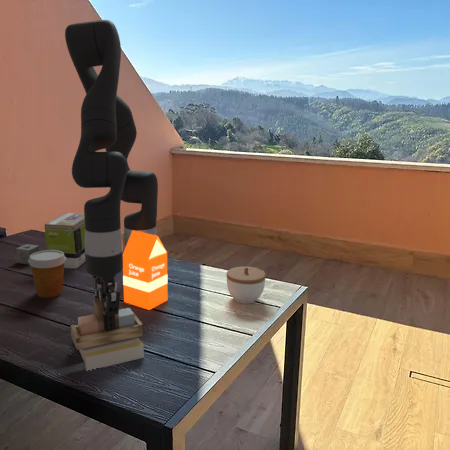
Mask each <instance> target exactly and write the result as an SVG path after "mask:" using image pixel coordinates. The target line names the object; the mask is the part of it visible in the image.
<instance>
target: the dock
mask: <svg viewBox="0 0 450 450" xmlns="http://www.w3.org/2000/svg"><path fill="white" fill-rule="evenodd" d="M144 347H145V346H144V343H143V342H142V340H141V339H140V338H139V337H134V338H130V339H125V340H120V341H116V342H111V343H107V344H102V345H98V346H93V347H89V348H84V349H79V350H78V351H79V353H80V355H81V358H82V360H83V362H82V364H83V366H84V368H86V369H85V371H86V372H89V371H88V370H90V371H93V370H92V369H94V370H97V369H96V368H99V369H101V368H102V367H103V368H107V367H111V366H115V365H118V364H123V363H128V362H131V361H135V360H140V359H143V358H145V352H144V351H145V350H144Z"/></svg>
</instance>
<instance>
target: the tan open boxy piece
mask: <svg viewBox="0 0 450 450" xmlns="http://www.w3.org/2000/svg"><path fill="white" fill-rule="evenodd" d="M105 299H106V298H103V300H105ZM92 303H93V305H92V306H93V314H94V315H95V317H96V319H97V320H98V333H95V334H90V335H85V336H80V334H79V329H78V324H76V325H75V324H72V325H70V335H71V336H70V338H71V339H72V341H73V344H74V347H75V349H76V351H79V349H84V348H89V347H93V346H98V345H102V344H107V343H111V342H116V341H120V340H125V339H130V338H134V337H138V338H139V337H143V336H144V335H143V333H144V331H143V328H144V327H143V323H142V322H141V320H140V319H139V317H138V316H137V315H136V314H135V313H134V324H135V325H133V326H129V327H124V328H119V312H118V314H115V329H114V330H109V331H106V330H105V329H104V314H103V305H102V304H101V303H100V299H99V298H95V297H94V298H92Z"/></svg>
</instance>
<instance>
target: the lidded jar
mask: <svg viewBox="0 0 450 450" xmlns="http://www.w3.org/2000/svg"><path fill="white" fill-rule="evenodd" d="M266 277H267V274H266V272H265V271H264V270H263V269H260V268H258V267H254V266H236V267H232V268H230V269H228V270H227V272H226V287H227V289H228V290H227V291H228V293H229V294H230V296H231V297H232V299H233V300H234V301H235V302H237V303H239V304H243V305H244V304H245V305H246V304H254V303H255V302H256V301H257V300H258V299H259V298H260V297H261V296H262V294H263V292H264V289H265V285H266V284H265V283H266Z"/></svg>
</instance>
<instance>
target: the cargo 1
mask: <svg viewBox="0 0 450 450" xmlns="http://www.w3.org/2000/svg"><path fill="white" fill-rule="evenodd" d="M77 325H78V329H79V334H80V336H85V335H90V334H95V333H98V320H97V319H96V317H95V315H94V313H92V314H89V315H83V316H78V317H77Z"/></svg>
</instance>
